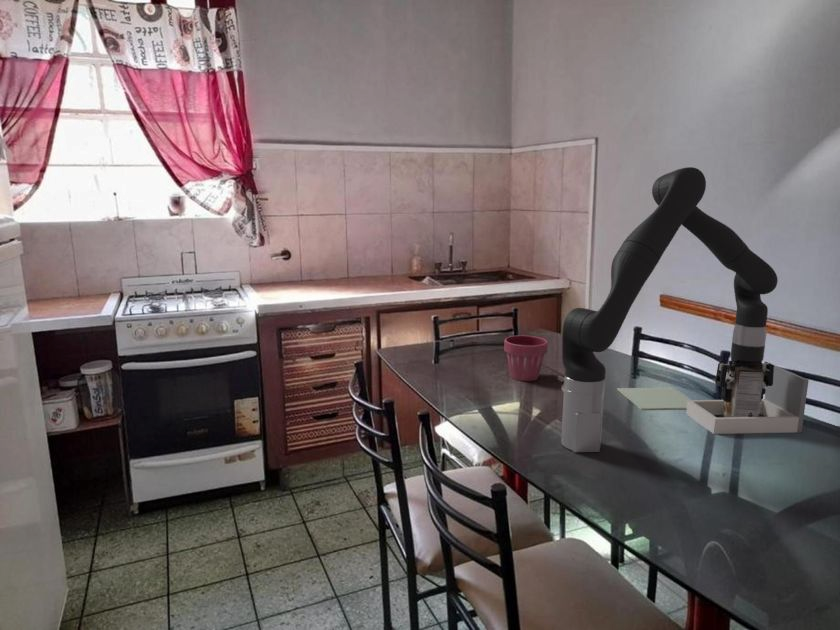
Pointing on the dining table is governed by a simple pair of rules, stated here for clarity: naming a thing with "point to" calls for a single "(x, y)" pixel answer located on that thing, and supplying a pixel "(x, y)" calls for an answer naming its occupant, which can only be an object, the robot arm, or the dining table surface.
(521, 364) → the plant pot
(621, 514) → the dining table surface
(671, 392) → the mat
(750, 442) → the dining table surface
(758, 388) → the coffee box
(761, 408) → the case
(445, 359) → the dining table surface
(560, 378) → the pliers
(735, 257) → the robot arm
